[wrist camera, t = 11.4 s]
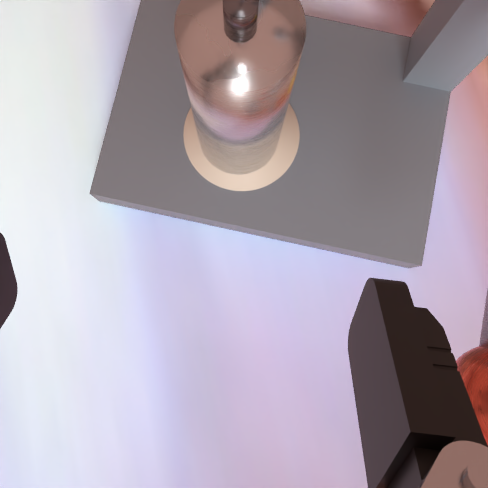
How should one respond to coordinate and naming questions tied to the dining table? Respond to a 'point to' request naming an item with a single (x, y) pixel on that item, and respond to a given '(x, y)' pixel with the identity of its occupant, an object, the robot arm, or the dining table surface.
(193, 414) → the dining table surface
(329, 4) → the dining table surface
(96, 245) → the dining table surface
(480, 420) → the lever
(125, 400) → the dining table surface
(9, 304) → the robot arm
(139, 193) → the press
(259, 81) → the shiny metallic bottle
